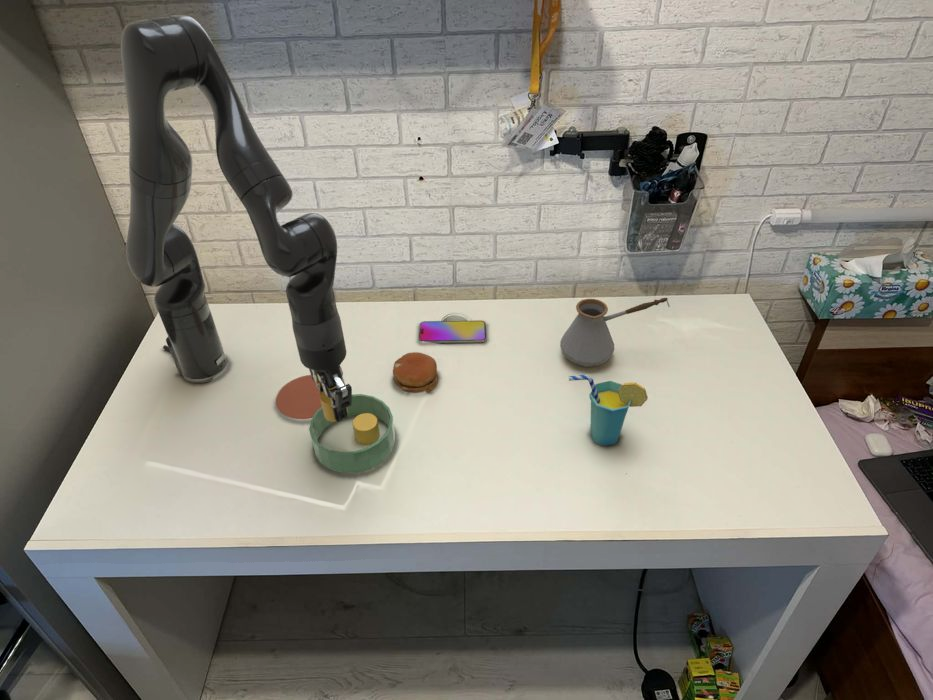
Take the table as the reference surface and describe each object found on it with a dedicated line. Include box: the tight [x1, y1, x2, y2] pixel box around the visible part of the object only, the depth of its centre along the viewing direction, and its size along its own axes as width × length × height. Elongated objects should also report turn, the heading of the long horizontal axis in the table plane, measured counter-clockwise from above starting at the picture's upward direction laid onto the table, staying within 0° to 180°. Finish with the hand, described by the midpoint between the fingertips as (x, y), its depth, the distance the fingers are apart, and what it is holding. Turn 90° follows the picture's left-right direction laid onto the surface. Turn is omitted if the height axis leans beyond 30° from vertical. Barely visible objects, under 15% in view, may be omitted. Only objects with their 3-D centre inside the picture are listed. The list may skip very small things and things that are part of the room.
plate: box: [275, 374, 322, 420], centre depth 133 cm, size 13×13×1 cm
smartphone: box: [418, 320, 487, 344], centre depth 148 cm, size 7×1×15 cm
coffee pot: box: [559, 297, 671, 368], centre depth 137 cm, size 21×12×15 cm, turn 89°
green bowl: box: [308, 393, 396, 474], centre depth 121 cm, size 15×15×6 cm
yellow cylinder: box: [320, 387, 348, 423], centre depth 114 cm, size 4×4×4 cm
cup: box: [568, 374, 648, 447], centre depth 119 cm, size 14×8×15 cm, turn 84°
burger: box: [392, 351, 439, 393], centre depth 136 cm, size 10×9×5 cm
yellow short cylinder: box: [352, 413, 381, 445], centre depth 123 cm, size 5×5×4 cm
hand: (335, 410), depth 115 cm, fingers closed on yellow cylinder, 4 cm apart
